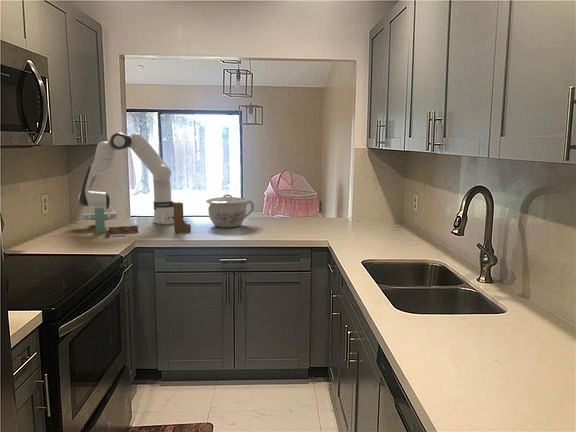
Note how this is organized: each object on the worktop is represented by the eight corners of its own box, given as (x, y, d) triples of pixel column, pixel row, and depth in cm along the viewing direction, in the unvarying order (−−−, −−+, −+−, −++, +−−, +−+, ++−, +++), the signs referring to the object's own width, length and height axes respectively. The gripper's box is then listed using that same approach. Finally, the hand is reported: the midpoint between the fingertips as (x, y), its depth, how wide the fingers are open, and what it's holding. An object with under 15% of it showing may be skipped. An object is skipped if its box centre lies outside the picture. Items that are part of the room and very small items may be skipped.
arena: (137, 231, 292) (137, 225, 291) (139, 235, 280) (139, 229, 279) (106, 233, 285) (105, 227, 284) (106, 237, 273) (106, 230, 272)
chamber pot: (198, 228, 304) (198, 195, 301) (217, 221, 330) (216, 191, 327) (240, 231, 296) (239, 197, 293) (255, 224, 322) (255, 193, 319)
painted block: (104, 231, 292) (103, 206, 289) (105, 233, 287) (103, 208, 285) (95, 232, 290) (94, 207, 288) (96, 233, 285) (94, 208, 283)
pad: (124, 233, 285) (124, 233, 285) (125, 236, 278) (125, 235, 278) (109, 234, 283) (109, 234, 282) (110, 237, 275) (110, 236, 275)
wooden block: (188, 230, 296) (187, 201, 293) (191, 232, 292) (190, 202, 289) (174, 232, 291) (173, 202, 288) (176, 233, 287) (175, 203, 285)
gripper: (81, 210, 301) (80, 213, 288) (116, 208, 308) (116, 211, 295) (81, 220, 302) (81, 224, 289) (116, 218, 309) (117, 222, 296)
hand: (99, 217), depth 292 cm, fingers open, 8 cm apart
